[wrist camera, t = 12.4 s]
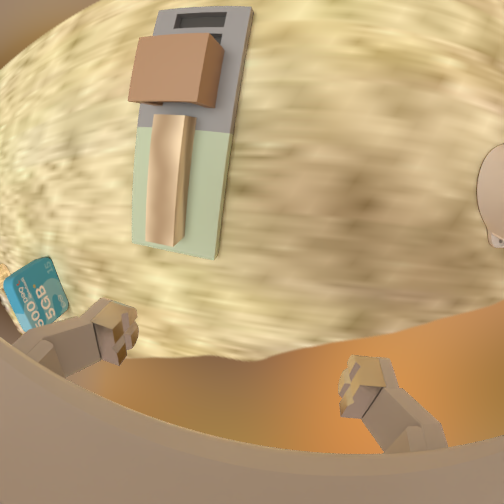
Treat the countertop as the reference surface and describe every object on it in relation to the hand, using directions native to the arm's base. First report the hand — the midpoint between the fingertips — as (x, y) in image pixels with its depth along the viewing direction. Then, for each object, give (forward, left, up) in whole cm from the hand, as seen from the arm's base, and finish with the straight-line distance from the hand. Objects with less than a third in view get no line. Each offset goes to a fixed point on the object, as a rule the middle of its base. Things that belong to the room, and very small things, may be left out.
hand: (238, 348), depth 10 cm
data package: (+43, +24, -29) cm, 57 cm away
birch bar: (+14, -1, -27) cm, 30 cm away
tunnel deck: (+14, -8, -29) cm, 33 cm away
